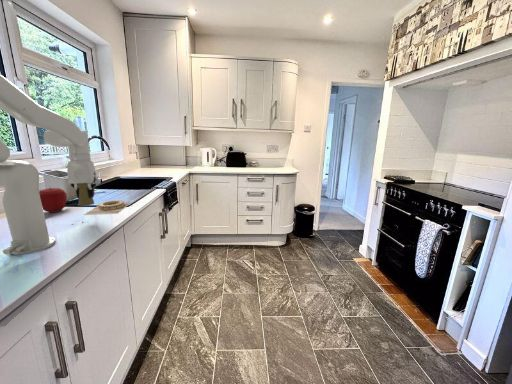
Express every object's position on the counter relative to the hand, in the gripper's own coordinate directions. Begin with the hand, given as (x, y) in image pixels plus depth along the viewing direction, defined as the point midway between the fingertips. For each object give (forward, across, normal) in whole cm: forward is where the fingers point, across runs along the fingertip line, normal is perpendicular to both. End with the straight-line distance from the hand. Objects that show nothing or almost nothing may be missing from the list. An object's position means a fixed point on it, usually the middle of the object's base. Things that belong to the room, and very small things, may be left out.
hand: (85, 197), depth 110 cm
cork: (+4, 0, 0) cm, 4 cm away
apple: (+11, -25, +18) cm, 32 cm away
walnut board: (+11, +2, +16) cm, 20 cm away
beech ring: (+10, +2, +19) cm, 22 cm away
